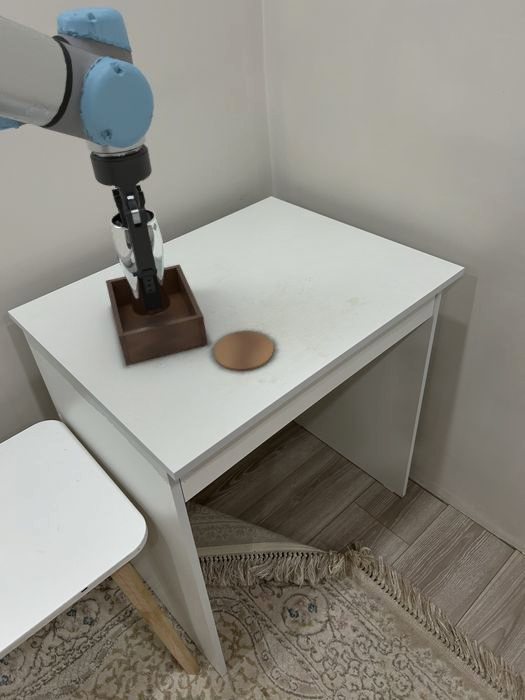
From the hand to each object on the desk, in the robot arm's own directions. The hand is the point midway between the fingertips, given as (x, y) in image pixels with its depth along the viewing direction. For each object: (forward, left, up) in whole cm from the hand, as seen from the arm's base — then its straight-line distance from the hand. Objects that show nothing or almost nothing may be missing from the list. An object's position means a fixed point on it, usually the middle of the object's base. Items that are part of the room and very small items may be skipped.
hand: (149, 296), depth 85 cm
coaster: (+11, -12, -6) cm, 17 cm away
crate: (0, 0, -6) cm, 6 cm away
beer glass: (0, 0, -2) cm, 2 cm away
